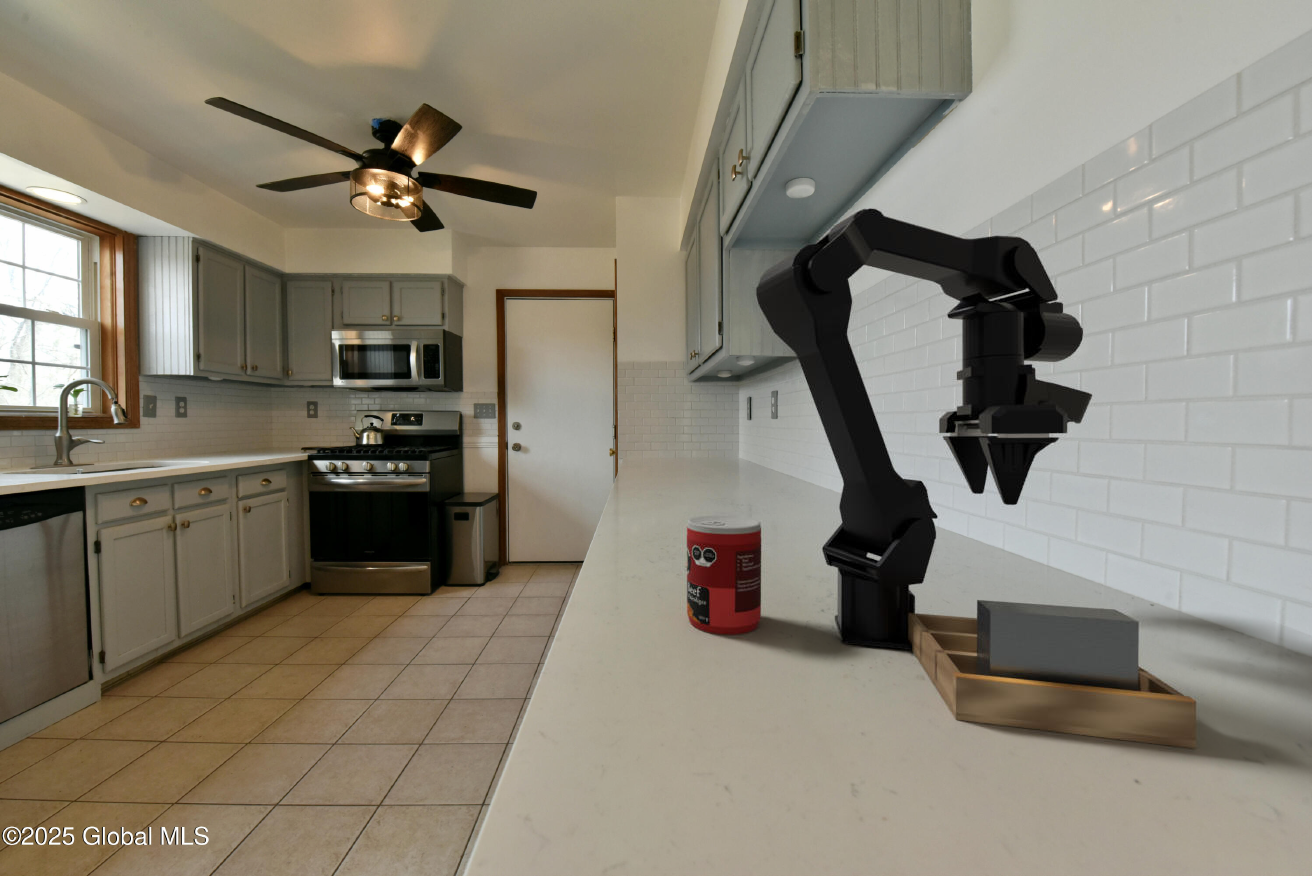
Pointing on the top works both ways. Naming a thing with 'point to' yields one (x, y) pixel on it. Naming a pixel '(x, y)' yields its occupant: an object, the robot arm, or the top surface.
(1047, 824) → the top surface
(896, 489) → the robot arm
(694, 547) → the canned food
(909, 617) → the tray
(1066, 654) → the panel
